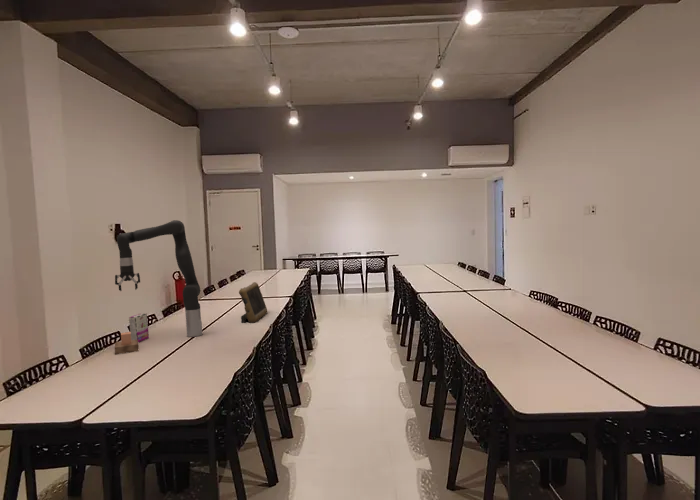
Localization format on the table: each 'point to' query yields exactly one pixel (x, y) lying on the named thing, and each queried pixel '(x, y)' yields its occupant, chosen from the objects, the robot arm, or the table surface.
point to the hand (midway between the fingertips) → (128, 290)
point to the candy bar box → (139, 327)
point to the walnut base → (126, 347)
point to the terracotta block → (126, 338)
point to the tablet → (252, 303)
